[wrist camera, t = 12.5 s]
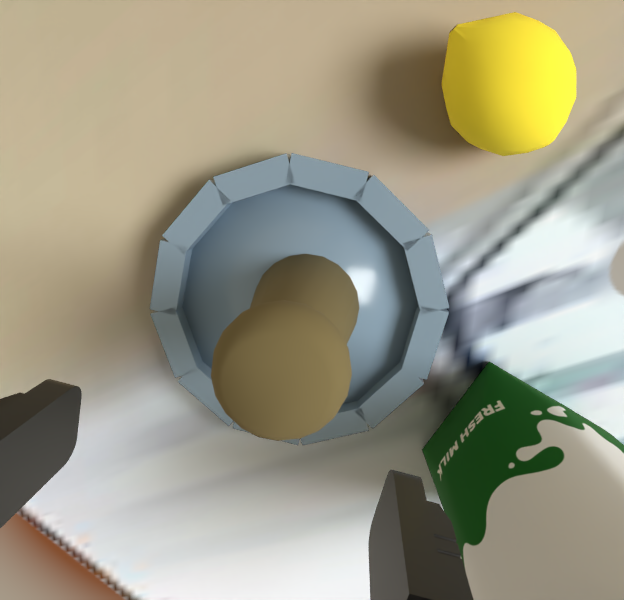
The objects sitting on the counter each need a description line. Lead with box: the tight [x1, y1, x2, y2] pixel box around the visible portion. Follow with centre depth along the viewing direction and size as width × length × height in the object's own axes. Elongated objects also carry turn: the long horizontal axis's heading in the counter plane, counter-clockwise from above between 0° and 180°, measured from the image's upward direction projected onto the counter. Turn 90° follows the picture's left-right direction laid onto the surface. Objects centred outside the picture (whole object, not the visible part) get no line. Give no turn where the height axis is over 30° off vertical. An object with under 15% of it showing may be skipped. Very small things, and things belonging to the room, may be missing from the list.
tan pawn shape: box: [211, 254, 359, 441], centre depth 21 cm, size 6×6×11 cm
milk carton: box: [422, 362, 624, 600], centre depth 18 cm, size 9×9×20 cm
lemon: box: [442, 12, 576, 156], centre depth 21 cm, size 7×5×5 cm
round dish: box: [150, 153, 449, 445], centre depth 26 cm, size 16×16×2 cm
